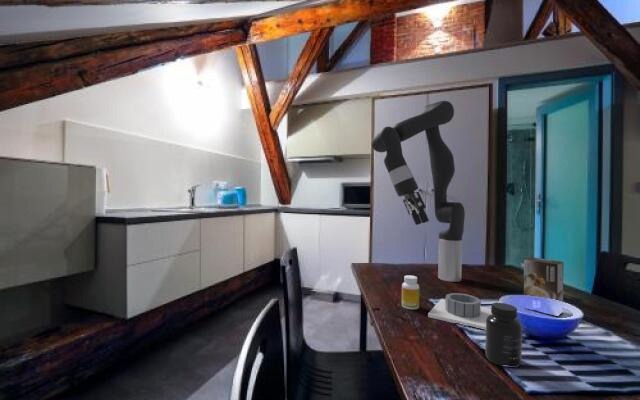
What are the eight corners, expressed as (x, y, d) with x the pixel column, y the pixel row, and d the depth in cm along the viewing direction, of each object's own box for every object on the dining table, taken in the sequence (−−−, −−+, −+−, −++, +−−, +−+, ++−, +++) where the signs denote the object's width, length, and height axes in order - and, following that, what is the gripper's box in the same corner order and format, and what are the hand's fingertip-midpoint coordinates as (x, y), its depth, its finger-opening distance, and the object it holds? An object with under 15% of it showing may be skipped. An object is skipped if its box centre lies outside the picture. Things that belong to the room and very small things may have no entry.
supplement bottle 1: (420, 310, 94) (420, 279, 94) (402, 309, 95) (402, 278, 95) (417, 304, 99) (418, 275, 99) (401, 303, 100) (401, 274, 100)
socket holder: (441, 301, 102) (441, 286, 102) (495, 312, 93) (495, 296, 93) (427, 316, 89) (428, 300, 89) (489, 331, 80) (489, 313, 80)
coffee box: (564, 313, 93) (565, 261, 93) (557, 318, 89) (559, 264, 89) (529, 304, 100) (530, 256, 100) (522, 308, 97) (523, 258, 96)
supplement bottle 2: (478, 352, 69) (479, 300, 69) (506, 351, 70) (507, 300, 70) (498, 369, 62) (499, 312, 62) (529, 368, 63) (530, 311, 63)
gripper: (418, 172, 100) (439, 217, 97) (408, 181, 114) (426, 220, 111) (397, 180, 100) (417, 225, 97) (389, 188, 114) (407, 228, 111)
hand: (422, 223), depth 104 cm, fingers open, 8 cm apart
